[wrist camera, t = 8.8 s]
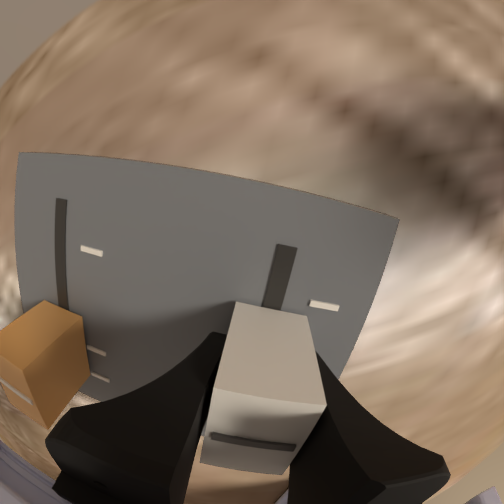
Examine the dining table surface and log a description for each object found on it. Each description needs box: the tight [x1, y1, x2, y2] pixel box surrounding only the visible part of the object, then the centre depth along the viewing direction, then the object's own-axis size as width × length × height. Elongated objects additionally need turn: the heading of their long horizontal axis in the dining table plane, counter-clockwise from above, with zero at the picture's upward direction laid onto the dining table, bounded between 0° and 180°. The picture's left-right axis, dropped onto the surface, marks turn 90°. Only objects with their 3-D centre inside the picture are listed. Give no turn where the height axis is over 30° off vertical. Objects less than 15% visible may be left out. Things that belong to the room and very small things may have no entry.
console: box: [15, 152, 399, 436], centre depth 12 cm, size 14×18×1 cm
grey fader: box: [200, 302, 327, 475], centre depth 9 cm, size 4×3×5 cm
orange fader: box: [0, 300, 91, 429], centre depth 10 cm, size 4×3×5 cm
